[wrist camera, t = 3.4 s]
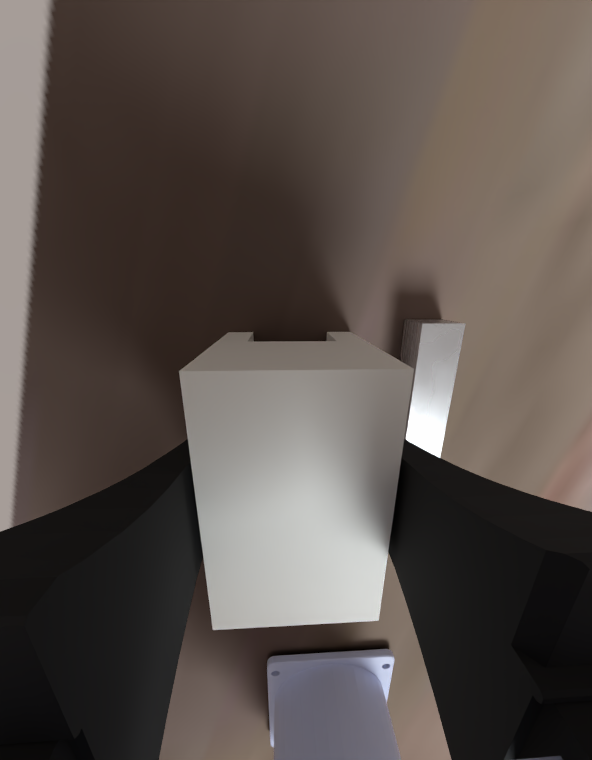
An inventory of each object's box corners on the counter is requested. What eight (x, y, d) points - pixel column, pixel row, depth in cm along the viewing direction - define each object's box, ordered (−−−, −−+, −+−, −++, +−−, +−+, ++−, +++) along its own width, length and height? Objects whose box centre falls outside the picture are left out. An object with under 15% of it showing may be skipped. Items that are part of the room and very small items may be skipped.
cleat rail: (413, 497, 14) (427, 520, 13) (382, 498, 14) (394, 521, 13) (442, 319, 11) (465, 323, 10) (404, 319, 11) (422, 323, 10)
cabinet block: (340, 491, 14) (378, 620, 8) (239, 495, 14) (212, 630, 8) (350, 331, 11) (414, 368, 6) (228, 332, 11) (179, 371, 6)
